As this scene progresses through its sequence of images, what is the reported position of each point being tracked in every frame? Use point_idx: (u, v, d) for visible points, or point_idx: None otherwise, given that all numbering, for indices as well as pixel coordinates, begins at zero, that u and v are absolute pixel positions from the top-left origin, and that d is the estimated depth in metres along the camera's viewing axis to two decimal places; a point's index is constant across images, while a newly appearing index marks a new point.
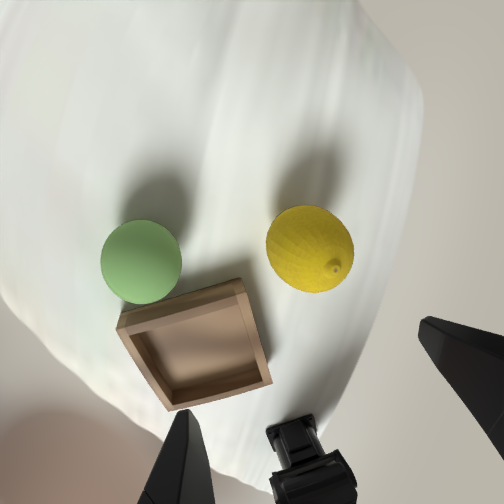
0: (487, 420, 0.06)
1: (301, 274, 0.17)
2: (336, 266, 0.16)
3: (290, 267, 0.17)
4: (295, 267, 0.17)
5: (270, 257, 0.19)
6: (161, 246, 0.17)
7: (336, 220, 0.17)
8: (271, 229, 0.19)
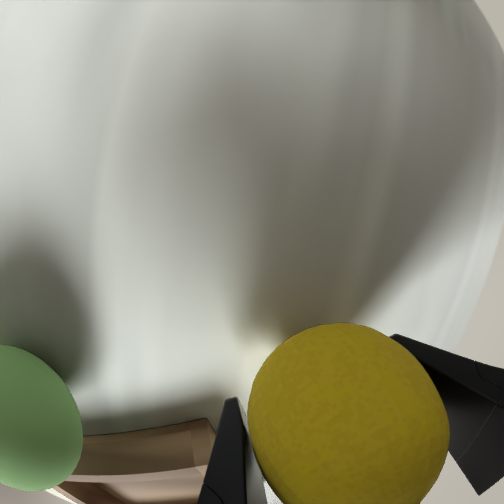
0: (456, 446, 0.06)
1: None
2: None
3: None
4: None
5: None
6: (15, 434, 0.04)
7: (430, 399, 0.05)
8: (259, 401, 0.07)
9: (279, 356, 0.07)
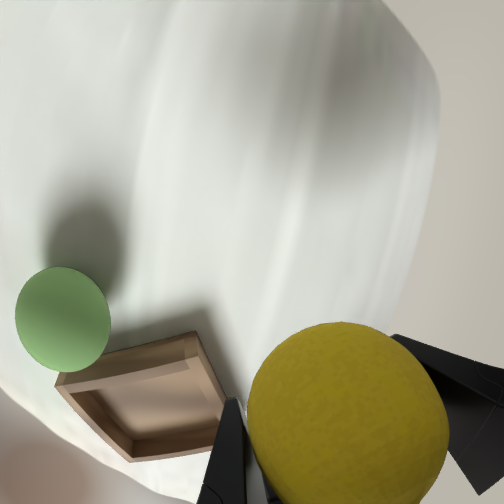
0: (456, 446, 0.06)
1: None
2: None
3: None
4: None
5: (255, 457, 0.07)
6: (72, 310, 0.11)
7: (430, 398, 0.05)
8: (259, 400, 0.07)
9: (279, 355, 0.07)
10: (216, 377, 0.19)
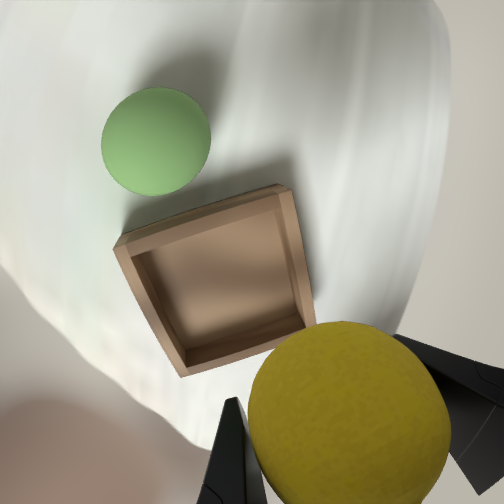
0: (456, 446, 0.06)
1: None
2: None
3: None
4: None
5: (256, 457, 0.06)
6: (188, 105, 0.12)
7: (432, 397, 0.05)
8: (259, 400, 0.07)
9: (280, 354, 0.07)
10: None
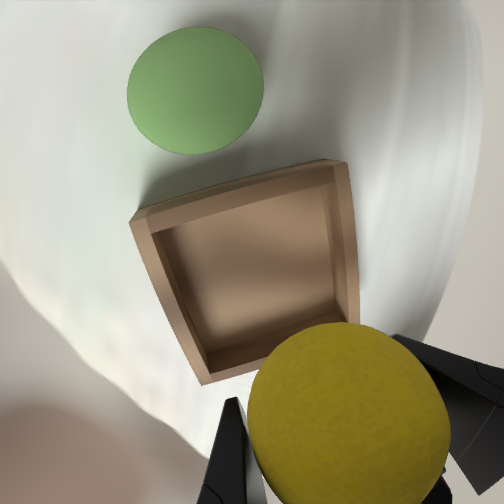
0: (456, 446, 0.06)
1: None
2: None
3: None
4: None
5: (255, 458, 0.06)
6: (243, 46, 0.09)
7: (431, 398, 0.05)
8: (259, 401, 0.07)
9: (279, 355, 0.07)
10: None
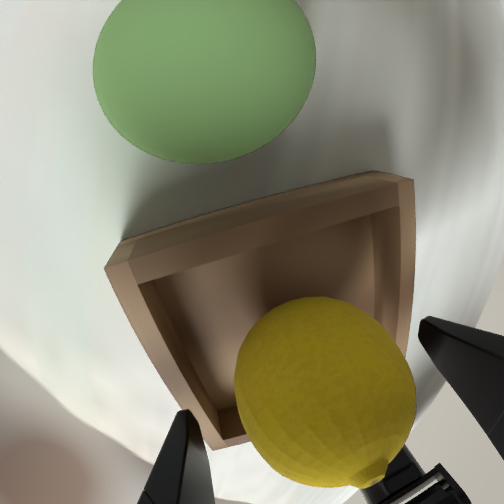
0: (487, 419, 0.06)
1: (298, 479, 0.06)
2: (377, 478, 0.05)
3: (276, 464, 0.06)
4: (286, 470, 0.06)
5: (239, 414, 0.08)
6: None
7: (392, 358, 0.06)
8: (242, 359, 0.08)
9: (261, 321, 0.09)
10: None
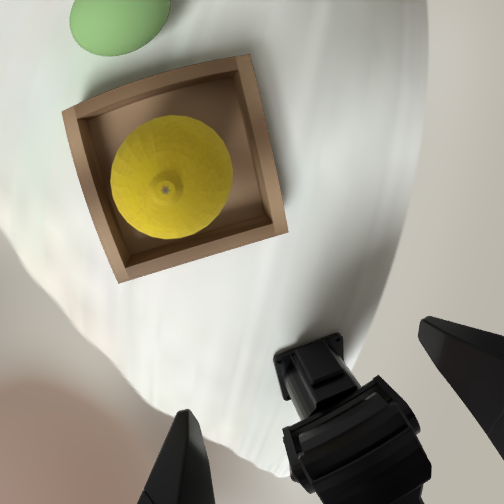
0: (487, 420, 0.06)
1: (124, 201, 0.10)
2: (165, 182, 0.09)
3: (114, 191, 0.10)
4: (117, 191, 0.10)
5: None
6: None
7: (196, 124, 0.10)
8: None
9: None
10: None
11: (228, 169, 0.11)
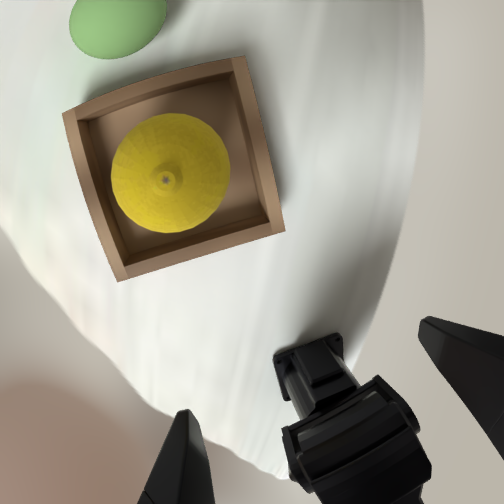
0: (487, 420, 0.06)
1: (125, 193, 0.10)
2: (165, 172, 0.09)
3: (115, 185, 0.10)
4: (118, 183, 0.10)
5: None
6: None
7: (195, 120, 0.11)
8: None
9: None
10: None
11: (226, 163, 0.11)
